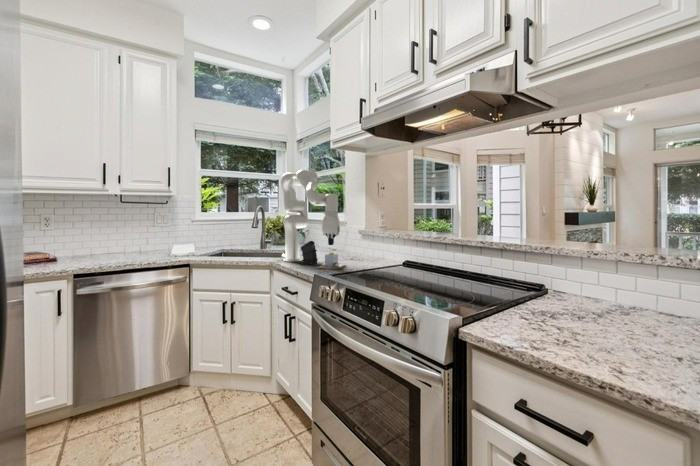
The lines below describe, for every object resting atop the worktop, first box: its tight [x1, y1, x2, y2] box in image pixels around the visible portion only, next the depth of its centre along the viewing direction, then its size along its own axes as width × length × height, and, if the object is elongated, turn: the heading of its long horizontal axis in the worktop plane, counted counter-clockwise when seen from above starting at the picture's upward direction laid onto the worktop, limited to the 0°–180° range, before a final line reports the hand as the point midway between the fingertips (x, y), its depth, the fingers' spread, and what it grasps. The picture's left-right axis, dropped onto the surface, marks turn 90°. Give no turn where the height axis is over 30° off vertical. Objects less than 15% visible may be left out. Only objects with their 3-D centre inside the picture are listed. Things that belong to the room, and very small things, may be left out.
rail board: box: [316, 261, 347, 271], centre depth 200 cm, size 12×14×2 cm
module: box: [324, 251, 339, 267], centre depth 200 cm, size 5×7×8 cm
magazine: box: [299, 240, 319, 266], centre depth 214 cm, size 4×13×15 cm, turn 46°
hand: (330, 244), depth 199 cm, fingers closed
